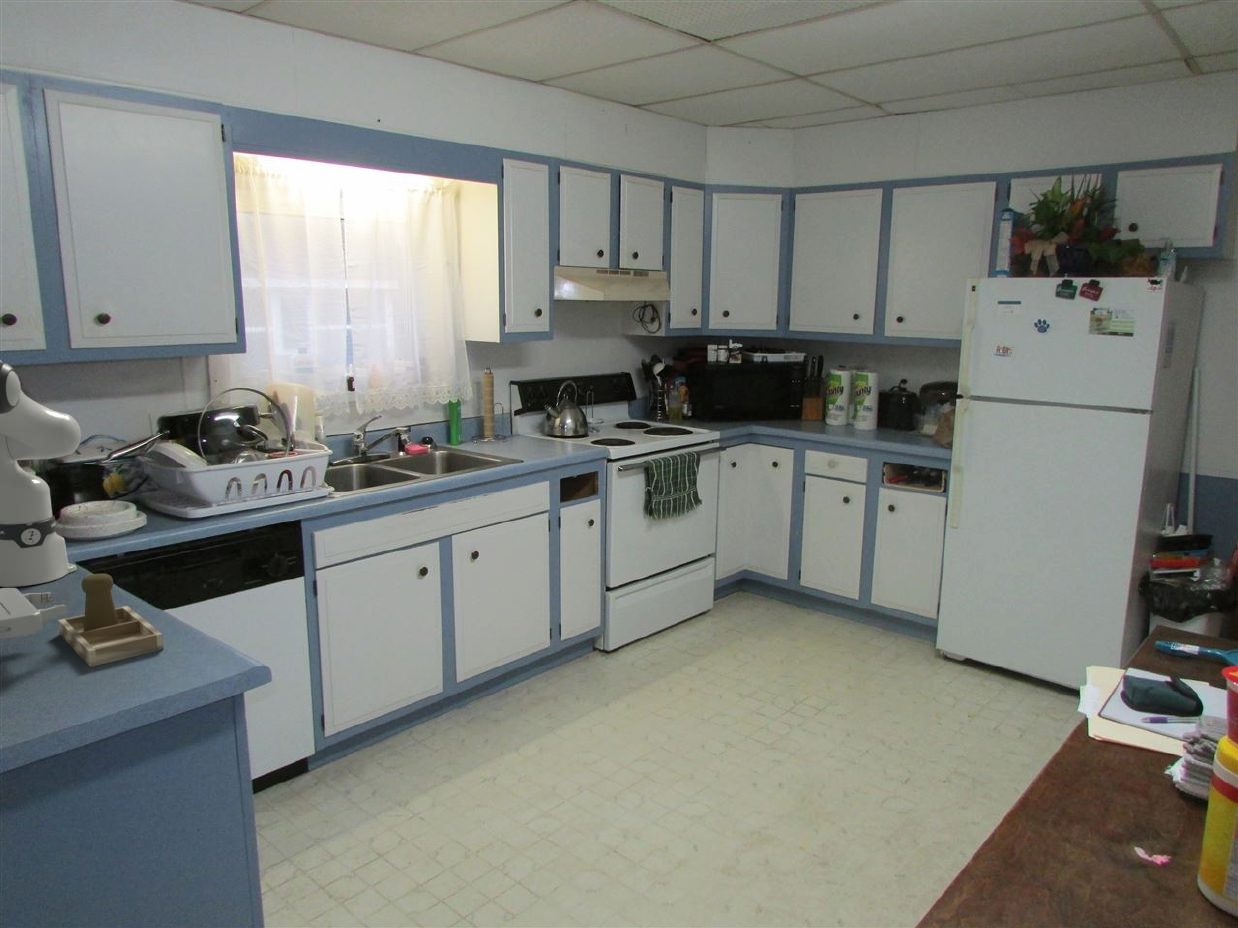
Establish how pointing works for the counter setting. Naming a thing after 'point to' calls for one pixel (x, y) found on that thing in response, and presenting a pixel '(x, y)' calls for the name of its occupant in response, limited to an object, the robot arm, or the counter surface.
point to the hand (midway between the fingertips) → (59, 602)
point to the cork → (98, 602)
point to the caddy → (111, 638)
